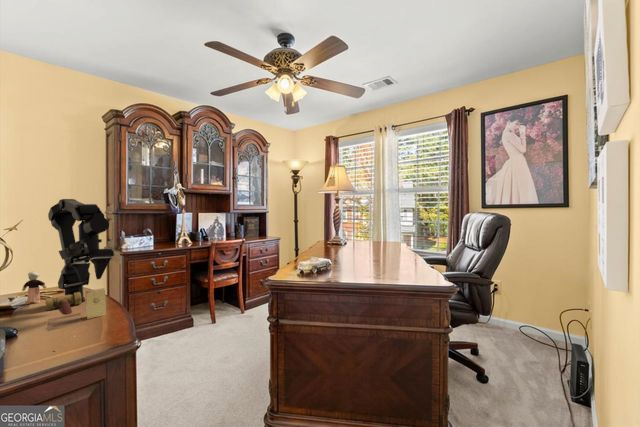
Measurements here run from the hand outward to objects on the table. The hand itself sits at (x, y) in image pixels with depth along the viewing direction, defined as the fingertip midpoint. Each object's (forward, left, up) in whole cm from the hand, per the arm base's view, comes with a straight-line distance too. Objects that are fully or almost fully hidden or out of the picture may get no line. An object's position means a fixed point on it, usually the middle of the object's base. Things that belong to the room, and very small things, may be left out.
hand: (90, 280), depth 105 cm
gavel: (-8, -7, -12) cm, 16 cm away
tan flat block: (+9, -7, -12) cm, 16 cm away
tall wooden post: (+10, +1, -12) cm, 15 cm away
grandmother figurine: (-31, -16, -12) cm, 37 cm away
